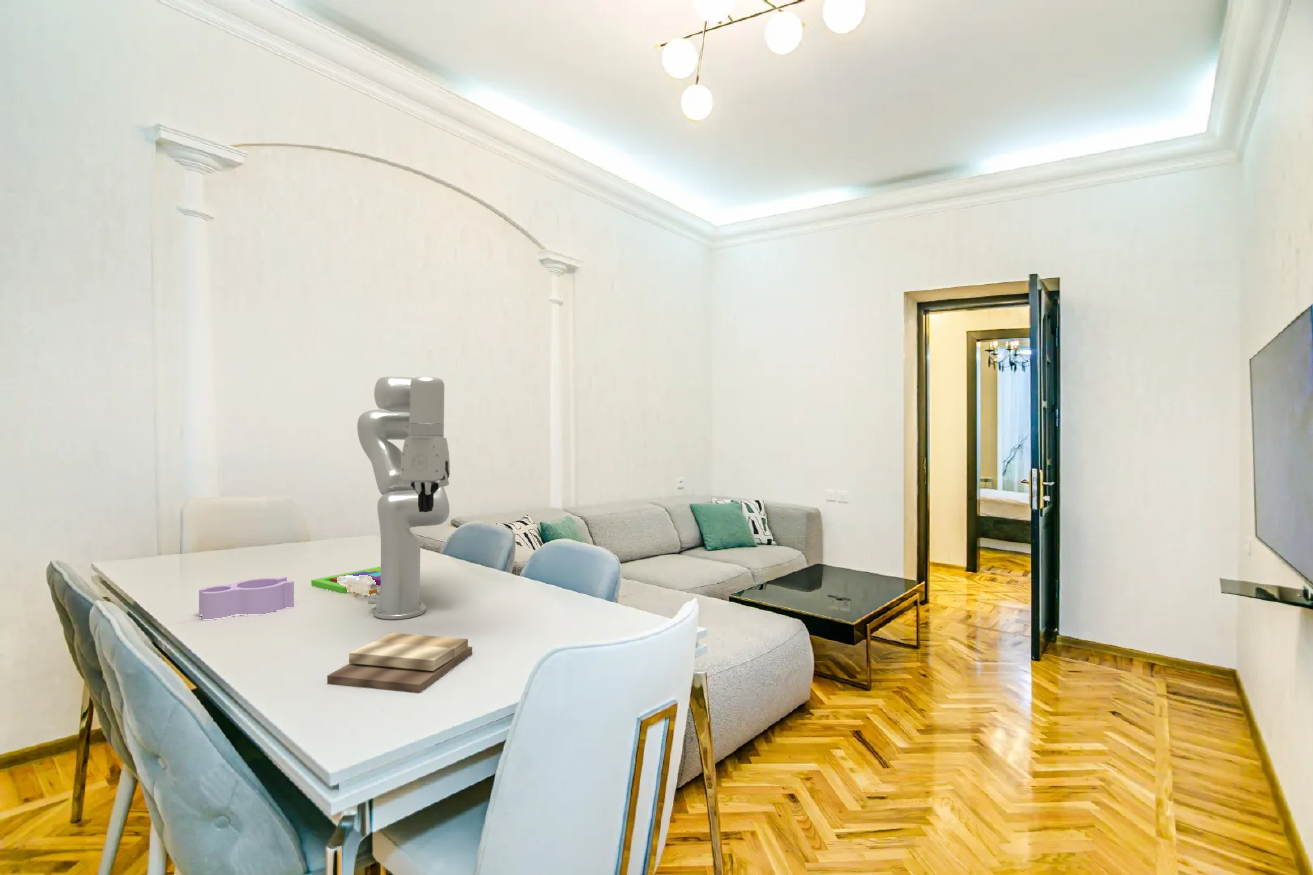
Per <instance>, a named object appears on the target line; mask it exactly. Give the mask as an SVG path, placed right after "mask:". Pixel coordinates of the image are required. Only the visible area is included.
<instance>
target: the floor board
mask: <svg viewBox="0 0 1313 875" xmlns="http://www.w3.org/2000/svg"><path fill="white" fill-rule="evenodd" d="M374 641H375V642H387V643H398V644H410V645H422V646H433V647H445V648H454V655H453V659H451V660H450V661H448V662H446V663H445V664H443V665H442V666H440V667H439V668H437V669H435V670H434V671H429V670H419V669H408V668H397V667H386V666H376V665H365V664H354V663H349V662H348V663H347V664H346V665H343V667H340V668H339V669H337V670H335V671H333V672H331V673H329V674H327V677H326V678H327V679H326V684H327V685H328V684H329V685H338V686H339V685H341V686H348V687H349V686H350V687H358V688H359V687H360V688H367V689H368V688H370V689H379V690H388V691H397V692H398V691H399V692H407V693H419V694H420V693H422V691H424V690H425V689H427V688H428V687H429V686H431V685H432V684H433V683H435V682H436V681H438V680H439V679H440V678H442V677H443V676H444V675H445V674H447V673H449V672H450V671H451V670H452V669H454V668H455V667H457V666H458V665H459V664H460V663H462V662H463V661H464V660H466V659H467V658H468V657H470V656H472V654H473V647H472V646H469V639H468V638H461V637H447V636H439V635H438V636H437V635H436V636H435V635H427V634H426V635H425V634H413V633H402V632H390V633H388V634H386V635H384V636H382V637H380V638H378V639H376V640H374Z"/></svg>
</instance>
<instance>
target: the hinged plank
mask: <svg viewBox="0 0 1313 875" xmlns="http://www.w3.org/2000/svg"><path fill="white" fill-rule="evenodd" d="M375 641H376V640H373V641H371V642H369V643H367V644H365V645H363V646H361V647H359V648H356V649H354V650H352V651H350V652H349V653H348V664H349V663H354V664H365V665H376V666H386V667H397V668H408V669H419V670H429V671H434V670H435V669H437V668H439V667H440V666H442V665H443V664H445V663H446V662H448V661H450V660H451V659H453V655H454V648H445V647H433V646H422V645H410V644H398V643H387V642H375Z"/></svg>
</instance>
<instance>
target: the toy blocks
mask: <svg viewBox="0 0 1313 875" xmlns="http://www.w3.org/2000/svg"><path fill="white" fill-rule="evenodd" d="M346 575H353V576H359V575H368V576H371V577H372V579H373V580H375V582H376V585H378V586H377V587H381V566H376V567H370V568H366V569H361V570H357V571H356V570H355V571H351V572H346V573H341V574H336V575H331V576H325V577H320V578H314V579H311V582H310V583H311V585H312V586H311V585H310V586H311V587H314V586H315V587H314V588H318V589H322V590H326V589H328V590H327V591H330V590H331V591H330V592H334V591H335V593H339V594H342V593H345V594H348V593H347V589H346V587H344V586H342V585H340V584H339V583H337V577H339V576H346ZM376 585H375V586H376ZM373 593H377V594H378V589H377V588H374V589H373V590H369V594H370V595H371V594H373Z"/></svg>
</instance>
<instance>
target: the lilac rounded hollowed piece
mask: <svg viewBox="0 0 1313 875" xmlns="http://www.w3.org/2000/svg"><path fill="white" fill-rule="evenodd" d="M294 588H295V581H293V580H291V581H289V580H288V577H287V576H282V577H264V578H263V577H260V578H251V579H246V580H241V581H237V582H234V583H230V584H220V585H219V584H218V585H213V586H212V585H211V586H206V587H202V588H200V589H198V616H199V615H201V614H202V617H201V620H202V619H214V618H222V617H227V616H231V615H235V614H247V615H248V614H266V613H271V612H274V611H277V610H281V611H283V610H285V609H287V608H286V607H293V606H294V604H295V603H294V602H295V601H294V600H295V598H294V594H295V589H294ZM294 607H295V606H294ZM294 607H293V608H294ZM284 608H285V609H284ZM282 609H283V610H282ZM271 614H272V613H271ZM266 615H267V614H266Z"/></svg>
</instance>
